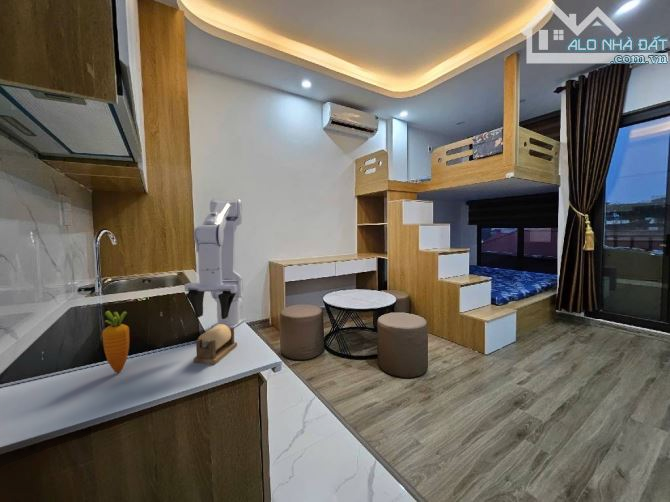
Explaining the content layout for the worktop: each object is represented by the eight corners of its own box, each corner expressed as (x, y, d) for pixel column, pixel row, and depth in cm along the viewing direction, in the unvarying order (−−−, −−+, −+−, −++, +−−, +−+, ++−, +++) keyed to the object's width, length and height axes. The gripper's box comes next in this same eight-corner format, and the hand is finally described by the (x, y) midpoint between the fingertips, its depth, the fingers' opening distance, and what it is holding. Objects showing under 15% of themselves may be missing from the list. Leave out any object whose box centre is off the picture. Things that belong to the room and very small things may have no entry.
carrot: (136, 368, 68) (133, 307, 67) (119, 379, 63) (115, 313, 62) (118, 367, 69) (114, 307, 68) (99, 377, 64) (94, 313, 63)
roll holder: (193, 362, 71) (192, 341, 71) (218, 344, 82) (217, 326, 82) (215, 364, 70) (214, 342, 70) (237, 345, 81) (236, 327, 81)
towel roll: (200, 360, 72) (189, 341, 72) (222, 344, 81) (212, 327, 81) (217, 350, 71) (206, 331, 71) (237, 335, 80) (227, 319, 80)
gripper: (176, 270, 74) (178, 320, 75) (227, 271, 72) (229, 323, 73) (193, 266, 81) (195, 312, 82) (240, 267, 79) (241, 314, 80)
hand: (212, 317), depth 78 cm, fingers open, 7 cm apart
